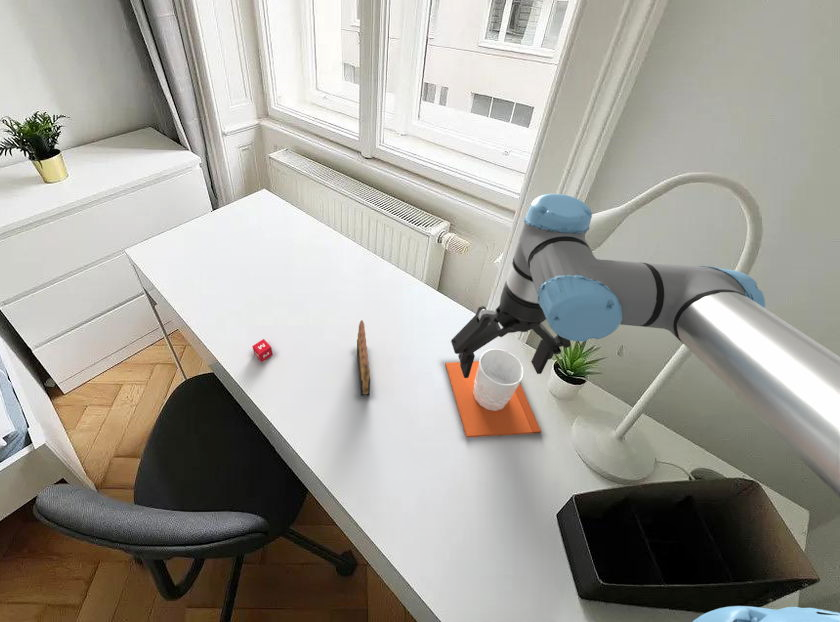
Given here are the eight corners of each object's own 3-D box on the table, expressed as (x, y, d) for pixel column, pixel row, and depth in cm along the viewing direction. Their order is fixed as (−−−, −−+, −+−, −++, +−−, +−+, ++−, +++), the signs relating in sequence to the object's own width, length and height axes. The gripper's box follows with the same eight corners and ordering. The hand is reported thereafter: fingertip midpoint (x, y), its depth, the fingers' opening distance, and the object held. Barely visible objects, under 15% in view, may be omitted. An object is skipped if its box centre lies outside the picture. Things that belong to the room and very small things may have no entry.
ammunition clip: (356, 352, 91) (356, 317, 84) (365, 352, 91) (365, 316, 84) (360, 396, 83) (361, 361, 75) (369, 395, 83) (371, 360, 75)
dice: (261, 362, 90) (259, 354, 88) (254, 354, 92) (252, 346, 90) (272, 355, 91) (271, 346, 89) (265, 346, 93) (263, 338, 91)
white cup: (484, 371, 86) (495, 341, 80) (518, 397, 81) (532, 368, 75) (461, 393, 82) (470, 364, 76) (496, 422, 77) (508, 393, 71)
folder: (540, 433, 76) (541, 431, 76) (466, 437, 76) (466, 435, 76) (508, 360, 89) (509, 358, 88) (445, 364, 88) (445, 362, 88)
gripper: (597, 268, 66) (556, 349, 79) (444, 275, 65) (429, 356, 79) (624, 301, 60) (576, 383, 73) (457, 310, 59) (438, 391, 73)
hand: (500, 369), depth 76 cm, fingers open, 13 cm apart
